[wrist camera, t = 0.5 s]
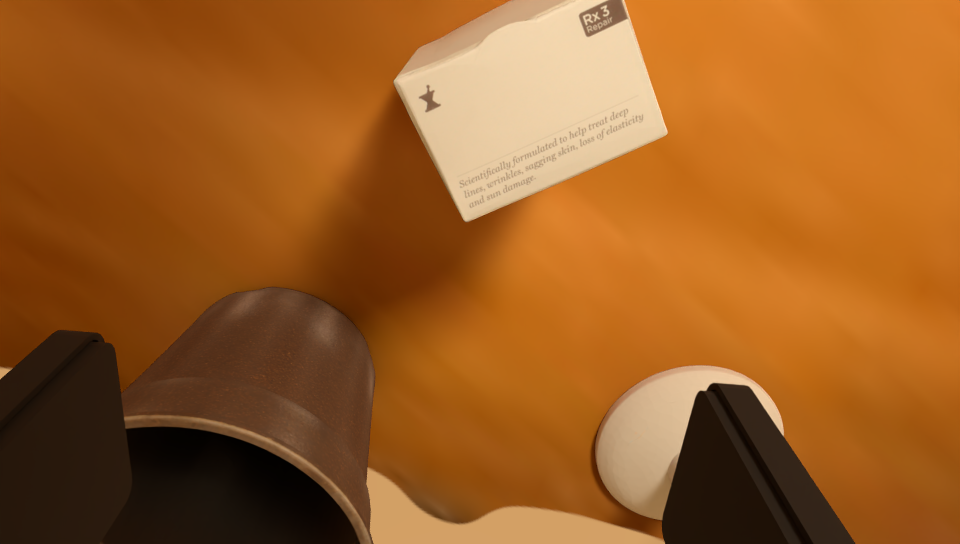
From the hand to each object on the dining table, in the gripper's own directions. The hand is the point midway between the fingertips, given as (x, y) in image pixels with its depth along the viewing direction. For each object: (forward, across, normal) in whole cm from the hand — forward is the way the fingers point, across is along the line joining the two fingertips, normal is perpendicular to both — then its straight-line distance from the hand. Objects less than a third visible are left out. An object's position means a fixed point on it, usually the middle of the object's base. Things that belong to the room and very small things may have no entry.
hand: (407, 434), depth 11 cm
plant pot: (+29, +10, +18) cm, 36 cm away
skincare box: (+29, -3, -3) cm, 29 cm away
